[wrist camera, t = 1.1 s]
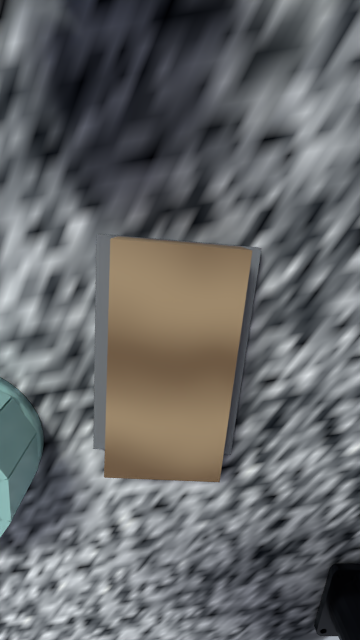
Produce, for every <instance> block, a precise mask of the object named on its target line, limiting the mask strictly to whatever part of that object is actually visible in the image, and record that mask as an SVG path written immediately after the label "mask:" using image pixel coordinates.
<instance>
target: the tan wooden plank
mask: <svg viewBox="0 0 360 640" xmlns="http://www.w3.org/2000/svg"><path fill="white" fill-rule="evenodd" d="M251 257H252V250H249V249H246V248H244V247H239V246H227V245H215V244H203V243H191V242H179V241H168V240H156V239H144V238H132V237H120V236H117V237H114V238H111V239H110V271H109V310H108V350H107V389H106V428H105V467H104V477H105V478H130V479H154V480H179V481H204V482H220V475H221V468H222V461H223V454H224V447H225V440H226V433H227V426H228V419H229V412H230V405H231V398H232V391H233V384H234V377H235V370H236V363H237V356H238V349H239V342H240V335H241V328H242V321H243V314H244V307H245V300H246V293H247V286H248V279H249V272H250V264H251Z"/></svg>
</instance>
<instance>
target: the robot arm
mask: <svg viewBox="0 0 360 640" xmlns="http://www.w3.org/2000/svg"><path fill="white" fill-rule="evenodd" d="M314 627H315V629H316V632H317V634H318V635H320V636H338V637H339V639H340V640H360V564H335V565H333V566H332V567H331V568H330V571H329V574H328V578H327V582H326V585H325V589H324V592H323V596H322V600H321V603H320V607H319V610H318V614H317V617H316V621H315V625H314Z"/></svg>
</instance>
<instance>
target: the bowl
mask: <svg viewBox="0 0 360 640" xmlns="http://www.w3.org/2000/svg"><path fill="white" fill-rule="evenodd" d="M43 448H44V436H43V429H42V426H41V422H40V420H39V417H38V415H37V413H36V411H35V410H34V408H33V406H32V405H31V403H30V402H29V401H28V400H27V398H26V397H25V396H24V395H23V394H22V393H21V392H20V391H19V390H18V389H17V388H15V387H14V386H13V385H12V384H10V383H9V382H7V381H6V380H4V379H2V378H1V377H0V537H1V536H2V534H3V533H4V531H5V530H6V528H7V527H8V526H9V524H10V523H11V521H12V519H13V517H14V515H15V513H16V511H17V509H18V507H19V505H20V503H21V501H22V499H23V498H24V496H25V494H26V492H27V490H28V488H29V486H30V484H31V482H32V480H33V478H34V476H35V474H36V472H37V470H38V465H39V463H40V460H41V457H42V453H43Z"/></svg>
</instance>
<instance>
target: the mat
mask: <svg viewBox="0 0 360 640" xmlns="http://www.w3.org/2000/svg"><path fill="white" fill-rule="evenodd" d="M114 237H117V236H116V235H105V234H97V236H96V306H95V376H94V447H93V449H105V428H106V389H107V350H108V310H109V271H110V239H111V238H114ZM120 237H128V236H120ZM132 238H140V237H132ZM144 239H152V238H144ZM156 240H164V239H156ZM168 241H176V240H168ZM179 242H187V241H179ZM191 243H199V242H191ZM203 244H211V243H203ZM215 245H223V244H215ZM227 246H235V245H227ZM239 247H244V248H246V249H249V250H252V257H251V264H250V272H249V279H248V286H247V293H246V300H245V307H244V314H243V321H242V328H241V335H240V342H239V349H238V356H237V363H236V370H235V377H234V384H233V391H232V398H231V405H230V412H229V419H228V426H227V433H226V440H225V447H224V454H223V455H231V449H232V442H233V435H234V429H235V422H236V415H237V409H238V402H239V395H240V389H241V382H242V375H243V369H244V362H245V355H246V349H247V342H248V335H249V329H250V322H251V315H252V309H253V302H254V295H255V288H256V282H257V275H258V268H259V262H260V255H261V248H258V247H247V246H239Z"/></svg>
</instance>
